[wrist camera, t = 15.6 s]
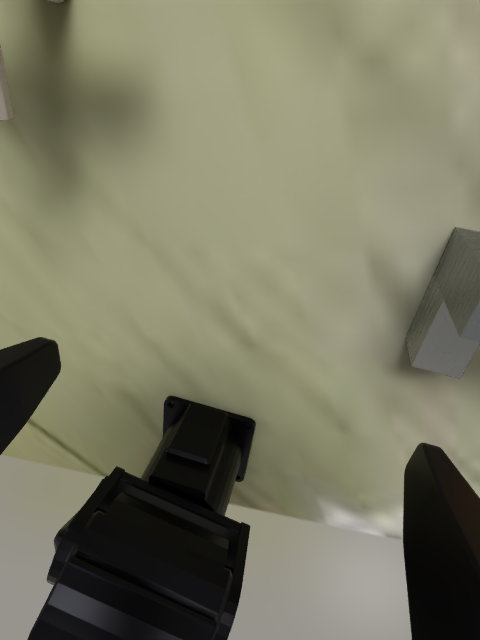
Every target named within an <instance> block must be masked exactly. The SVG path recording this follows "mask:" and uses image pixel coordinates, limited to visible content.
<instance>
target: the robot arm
mask: <svg viewBox="0 0 480 640" xmlns="http://www.w3.org/2000/svg"><path fill="white" fill-rule="evenodd" d="M60 370H61V362H60V355H59V349H58V344H57V343H56V341H54V340H51V339H47V338H44V337H38V338H35V339H32V340H29V341H26V342H22V343H19V344H16V345H13V346H10V347H7V348H4V349H1V350H0V455H1V454H2V452H3V451H4V450H5V449H6V447H7V446H8V445H9V444H10V443H11V441H12V440H13V439H14V438H15V436H16V435H17V434H18V433H19V432H20V430H21V429H22V428H23V426H24V425H25V424H26V423H27V421H28V420H29V418H30V417H31V416H32V414H33V413H34V411H35V410H36V408H37V406H38V405H39V403H40V402H41V400H42V399H43V397H44V396H45V394H46V393H47V391H48V390H49V388H50V387H51V385H52V384H53V382H54V381H55V379H56V378H57V376H58V375H59V373H60ZM172 403H173V404H172ZM248 425H249V426H248ZM255 426H256V423H255V421H254V420H253V419H251V418H248V417H244V416H241V415H237V414H234V413H230V412H227V411H223V410H220V409H216V408H213V407H209V406H206V405H203V404H199V403H196V402H192V401H189V400H185V399H182V398H178V397H175V396H168V397H167V398H166V400H165V402H164V423H163V439H162V440H161V442H160V444H159V446H158V448H157V450H156V451H155V453H154V455H153V457H152V459H151V460H150V462H149V464H148V466H147V468H146V470H145V471H144V473H143V475H142V477H141V479H140V478H138V477H136V476H134V475H131V474H129V473H127V472H125V470H124V469H122V468H120V467H117V466H116V468H115V469H114V470H113V472H112V473H111V474H110V475H109V477H108V476H106V477H105V478H104V479H102V481H101V482H100V484H99V486H98V487H97V489H96V490H95V491H94V493H93V494H92V495H91V497H90V498H89V499H88V500H87V502H86V503H85V504H84V506H83V507H82V508H81V509H80V510H79V511H78V513H76V514H75V515H74V516H73V517H72V518H71V519H70V520H69V521H68V522H67V523H66V524H65V525H64V526H63V527H62V528H61V529H60V530H59V532H58V533H57V535H56V537H55V539H54V546H55V551H56V553H55V555H54V558H53V561H52V565H51V567H50V569H49V573H48V576H47V582H48V583H50V584H52V585H54V586H53V588H52V590H51V592H50V594H49V596H48V599H47V600H46V603H45V605H44V606H43V608H42V610H41V612H40V614H39V616H38V618H37V620H36V622H35V624H34V626H33V628H32V630H31V632H30V634H29V637H28V640H227V638H228V636H229V633H230V630H231V627H232V624H233V621H234V618H235V614H236V611H237V607H238V603H239V598H240V594H241V588H242V582H243V575H244V568H245V560H246V552H247V546H248V539H249V531H250V526H249V525H248V524H245V523H243V522H242V523H239V522H237V521H234V520H232V519H230V518H228V517H225V512H226V509H227V505H228V503H229V499H230V496H231V493H232V489H233V486H234V483H235V481H237V482H241V481H243V479H244V476H245V472H246V467H247V462H248V458H249V453H250V449H251V444H252V440H253V435H254V430H255ZM403 547H404V559H405V570H406V581H407V591H408V601H409V613H410V622H411V633H412V640H480V498H479V497H478V495H477V494H476V493H475V491H474V490H473V489H472V488H471V486H470V485H469V484H468V482H467V481H466V480H465V478H464V477H463V476H462V475H461V473H460V472H459V471H458V469H457V468H456V467H455V465H454V464H453V463H452V461H451V460H450V459H449V458H448V456H447V455H446V454H445V452H444V451H443V450H442V449H441V448H440V447H438V446H434V445H430V444H427V443H420V444H419V445H418V446H417V448H416V449H415V451H414V453H413V455H412V456H411V458H410V460H409V462H408V463H407V465H406V468H405V473H404V514H403Z"/></svg>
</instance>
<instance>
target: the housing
mask: <svg viewBox="0 0 480 640" xmlns="http://www.w3.org/2000/svg"><path fill="white" fill-rule="evenodd" d="M406 342H407V347H408V351H409V356H410V361H411V366H412V367H416V368H420V369H424V370H428V371H432V372H436V373H440V374H444V375H448V376H452V377H456V378H460V377H461V375H462V374H463V372H464V370H465V369H466V367H467V365H468V363H469V362H470V360H471V358H472V357H473V355H474V353H475V351H476V350H477V348H478V346H479V344H480V232H476V231H471V230H466V229H461V228H456V227H455V229H454V231H453V233H452V236H451V238H450V240H449V242H448V245H447V247H446V249H445V251H444V254H443V256H442V258H441V260H440V263H439V265H438V267H437V269H436V272H435V274H434V276H433V278H432V280H431V283H430V285H429V287H428V289H427V292H426V294H425V296H424V298H423V301H422V303H421V305H420V307H419V310H418V312H417V314H416V316H415V319H414V321H413V323H412V325H411V328H410V330H409V332H408V334H407V337H406Z"/></svg>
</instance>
